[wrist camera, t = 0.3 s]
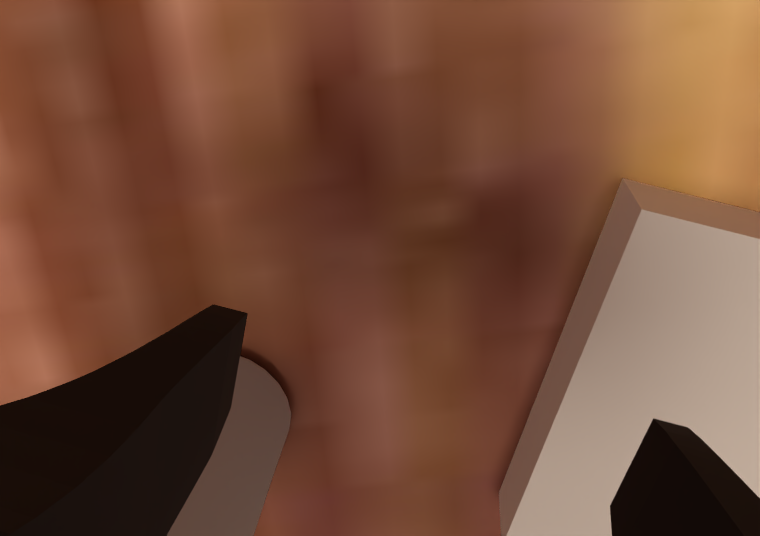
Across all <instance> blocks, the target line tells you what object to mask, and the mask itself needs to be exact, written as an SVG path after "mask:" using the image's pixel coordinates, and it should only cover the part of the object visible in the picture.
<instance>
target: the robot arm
mask: <svg viewBox="0 0 760 536" xmlns="http://www.w3.org/2000/svg"><path fill="white" fill-rule="evenodd" d="M247 314H248V313H244V312H241V311H237V310H233V309H229V308H225V307H221V306H217V305H212V306H210V307H208V308H206V309H204V310H203V311H201V312H199V313H198V314H196V315H194V316H193V317H191V318H189V319H188V320H186V321H184V322H183V323H181V324H180V325H178V326H176V327H175V328H173V329H171V330H170V331H168V332H166V333H165V334H163V335H161V336H160V337H158V338H156V339H154V340H152V341H151V342H149V343H147V344H145V345H144V346H142V347H140V348H138V349H137V350H135V351H133V352H131V353H129V354H127V355H125V356H123V357H121V358H119V359H117V360H115V361H113V362H111V363H109V364H107V365H105V366H103V367H101V368H99V369H97V370H95V371H93V372H91V373H89V374H86V375H84V376H82V377H80V378H77V379H75V380H72V381H70V382H68V383H65V384H62V385H60V386H57V387H55V388H52V389H49V390H47V391H44V392H41V393H39V394H36V395H33V396H30V397H27V398H24V399H21V400H17V401H14V402H11V403H7V404H4V405H0V536H167V534H168V532H169V531H170V529H171V527H172V525H173V524H174V522H175V520H176V518H177V516H178V515H179V513H180V511H181V509H182V508H183V506H184V504H185V502H186V501H187V499H188V497H189V495H190V494H191V492H192V490H193V488H194V486H195V485H196V483H197V481H198V479H199V477H200V476H201V474H202V472H203V470H204V469H205V467H206V465H207V463H208V461H209V459H210V458H211V456H212V453H213V451H214V449H215V446H216V444H217V441H218V439H219V437H220V434H221V432H222V429H223V427H224V424H225V422H226V419H227V417H228V414H229V412H230V409H231V405H232V399H233V394H234V388H235V382H236V376H237V371H238V365H239V359H240V354H241V348H242V342H243V337H244V331H245V325H246V319H247ZM610 515H611V529H612V536H760V498H759V497H758V496H757V495H756V494H755V493H754V492H753V491H752V490H751V489H750V488H749V487H748V486H747V485H746V484H745V482H744V481H743V480H742V479H741V478H740V477H739V476H738V475H737V474H736V473H735V472H734V471H733V470H732V469H731V468H730V467H729V466H728V465H727V464H726V463H725V462H724V461H723V460H722V459H721V458H720V457H719V456H718V455H717V454H716V453H715V452H714V451H713V450H712V449H711V448H710V447H709V446H708V445H707V444H706V443H705V442H704V441H703V440H702V439H701V438H700V437H699V436H697V435H696V434H695V433H694V432H693V431H692V430H691V429H689V428H688V427H685V426H681V425H677V424H673V423H669V422H666V421H662V420H658V419H654V418H653V420H652V422H651V424H650V426H649V428H648V430H647V432H646V434H645V436H644V438H643V440H642V442H641V444H640V446H639V448H638V450H637V452H636V454H635V456H634V458H633V460H632V462H631V464H630V466H629V468H628V470H627V472H626V474H625V476H624V478H623V480H622V482H621V484H620V486H619V488H618V491H617V493H616V495H615V497H614V499H613V501H612V503H611V505H610Z"/></svg>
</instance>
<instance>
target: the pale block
mask: <svg viewBox="0 0 760 536" xmlns="http://www.w3.org/2000/svg"><path fill="white" fill-rule="evenodd" d="M653 418H654V419H658V420H662V421H666V422H669V423H673V424H677V425H681V426H685V427H688V428H689V429H691V430H692V431H693V432H694V433H695V434H696V435H697V436H699V437H700V438H701V439H702V440H703V441H704V442H705V443H706V444H707V445H708V446H709V447H710V448H711V449H712V450H713V451H714V452H715V453H716V454H717V455H718V456H719V457H720V458H721V459H722V460H723V461H724V462H725V463H726V464H727V465H728V466H729V467H730V468H731V469H732V470H733V471H734V472H735V473H736V474H737V475H738V476H739V477H740V478H741V479H742V480H743V481H744V482H745V484H746V485H747V486H748V487H749V488H750V489H751V490H752V491H753V492H754V493H755V494H756V495H757V496H758V497H759V498H760V212H756V211H752V210H749V209H745V208H741V207H737V206H733V205H729V204H725V203H721V202H717V201H713V200H709V199H705V198H701V197H697V196H693V195H689V194H685V193H681V192H677V191H673V190H669V189H665V188H661V187H657V186H653V185H649V184H645V183H641V182H637V181H633V180H629V179H625V178H622V181H621V183H620V186H619V188H618V191H617V193H616V196H615V198H614V201H613V203H612V206H611V209H610V211H609V214H608V216H607V219H606V221H605V224H604V226H603V229H602V231H601V234H600V236H599V239H598V242H597V244H596V247H595V249H594V252H593V254H592V257H591V259H590V262H589V264H588V267H587V270H586V272H585V275H584V277H583V280H582V282H581V285H580V287H579V290H578V292H577V295H576V297H575V300H574V303H573V305H572V308H571V310H570V313H569V315H568V318H567V320H566V323H565V325H564V328H563V331H562V333H561V336H560V338H559V341H558V343H557V346H556V348H555V351H554V353H553V356H552V358H551V361H550V364H549V366H548V369H547V371H546V374H545V376H544V379H543V381H542V384H541V386H540V389H539V391H538V394H537V397H536V399H535V402H534V404H533V407H532V409H531V412H530V414H529V417H528V419H527V422H526V425H525V427H524V430H523V432H522V435H521V437H520V440H519V442H518V445H517V447H516V450H515V452H514V455H513V458H512V460H511V463H510V465H509V468H508V470H507V473H506V475H505V478H504V480H503V483H502V486H501V488H500V491H499V506H500V525H501V536H612V529H611V515H610V505H611V503H612V501H613V499H614V497H615V495H616V493H617V491H618V488H619V486H620V484H621V482H622V480H623V478H624V476H625V474H626V472H627V470H628V468H629V466H630V464H631V462H632V460H633V458H634V456H635V454H636V452H637V450H638V448H639V446H640V444H641V442H642V440H643V438H644V436H645V434H646V432H647V430H648V428H649V426H650V424H651V422H652V420H653Z"/></svg>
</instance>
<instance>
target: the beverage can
mask: <svg viewBox="0 0 760 536" xmlns="http://www.w3.org/2000/svg"><path fill="white" fill-rule="evenodd" d="M290 420H291V411H290V407H289V403H288V399H287V397H286V395H285V393H284V392H283V390H282V388H281V386H280V385H279V383H278V382H277V381H276V380H275V379H274V378H273V377H272V376H271V375H270V374H269V373H268V372H267V371H266V370H265V369H264V368H262V367H260V366H259V365H257V364H256V363H254V362H253V361H251V360H249V359H247V358H244V357H241V356H240V359H239V365H238V371H237V376H236V382H235V388H234V394H233V399H232V405H231V409H230V412H229V414H228V417H227V419H226V422H225V424H224V427H223V429H222V432H221V434H220V437H219V439H218V441H217V444H216V446H215V449H214V451H213V453H212V456H211V458H210V459H209V461H208V463H207V465H206V467H205V469H204V470H203V472H202V474H201V476H200V477H199V479H198V481H197V483H196V485H195V486H194V488H193V490H192V492H191V494H190V495H189V497H188V499H187V501H186V502H185V504H184V506H183V508H182V509H181V511H180V513H179V515H178V516H177V518H176V520H175V522H174V524H173V525H172V527H171V529H170V531H169V532H168V534H167V536H254V533H255V530H256V527H257V523H258V520H259V517H260V514H261V511H262V508H263V505H264V502H265V499H266V496H267V493H268V490H269V487H270V484H271V481H272V478H273V475H274V472H275V469H276V466H277V463H278V460H279V458H280V455H281V452H282V449H283V446H284V443H285V440H286V438H287V435H288V432H289V428H290Z"/></svg>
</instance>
